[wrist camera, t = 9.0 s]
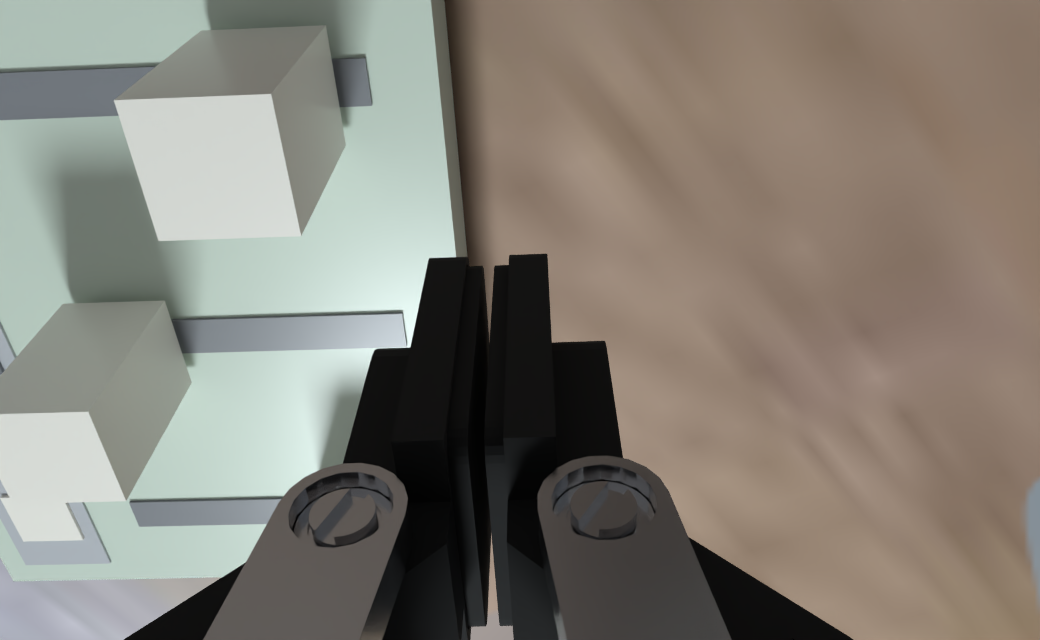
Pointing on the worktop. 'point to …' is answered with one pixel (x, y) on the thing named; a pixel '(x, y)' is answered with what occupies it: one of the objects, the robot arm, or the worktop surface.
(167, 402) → the switch
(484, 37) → the worktop surface
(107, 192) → the switch box
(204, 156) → the switch
